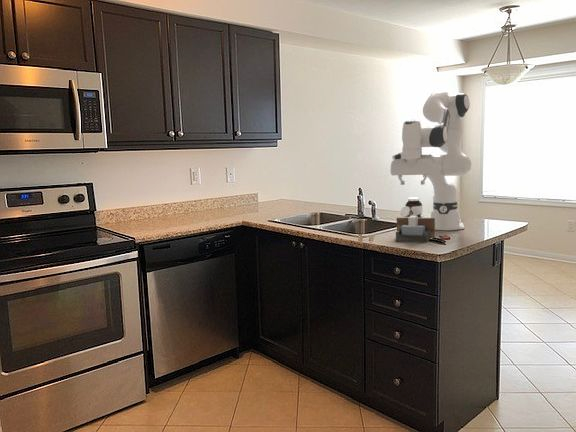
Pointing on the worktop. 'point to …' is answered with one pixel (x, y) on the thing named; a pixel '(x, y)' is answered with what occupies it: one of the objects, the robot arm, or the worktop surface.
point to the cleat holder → (428, 234)
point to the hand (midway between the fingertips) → (412, 184)
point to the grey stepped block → (413, 227)
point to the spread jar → (412, 208)
